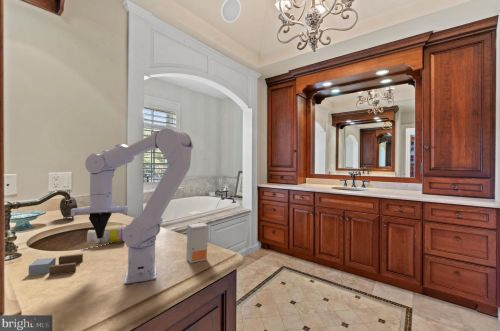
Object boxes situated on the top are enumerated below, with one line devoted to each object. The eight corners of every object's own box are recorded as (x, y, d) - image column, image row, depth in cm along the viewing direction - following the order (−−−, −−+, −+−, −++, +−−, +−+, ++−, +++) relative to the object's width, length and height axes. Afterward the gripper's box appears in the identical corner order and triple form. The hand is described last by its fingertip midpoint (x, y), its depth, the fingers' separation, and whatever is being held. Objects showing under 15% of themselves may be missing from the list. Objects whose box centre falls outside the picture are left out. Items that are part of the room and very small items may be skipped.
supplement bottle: (126, 231, 98) (90, 235, 92) (126, 221, 94) (89, 223, 89) (125, 244, 93) (87, 248, 87) (125, 233, 89) (85, 237, 84)
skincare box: (190, 263, 74) (191, 227, 74) (186, 259, 78) (187, 224, 78) (207, 260, 78) (208, 225, 77) (202, 255, 81) (203, 222, 81)
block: (48, 273, 66) (48, 263, 66) (28, 276, 64) (28, 265, 64) (55, 267, 70) (55, 257, 70) (37, 269, 68) (37, 259, 68)
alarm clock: (77, 219, 124) (78, 189, 123) (65, 221, 119) (66, 190, 119) (69, 216, 129) (70, 188, 129) (57, 218, 125) (58, 189, 125)
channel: (75, 272, 67) (75, 263, 67) (49, 275, 64) (49, 267, 64) (82, 261, 74) (82, 253, 74) (59, 263, 72) (60, 256, 72)
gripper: (129, 191, 76) (128, 231, 76) (76, 192, 70) (75, 235, 71) (126, 194, 70) (125, 238, 70) (68, 195, 64) (67, 243, 64)
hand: (100, 237), depth 70 cm, fingers closed
